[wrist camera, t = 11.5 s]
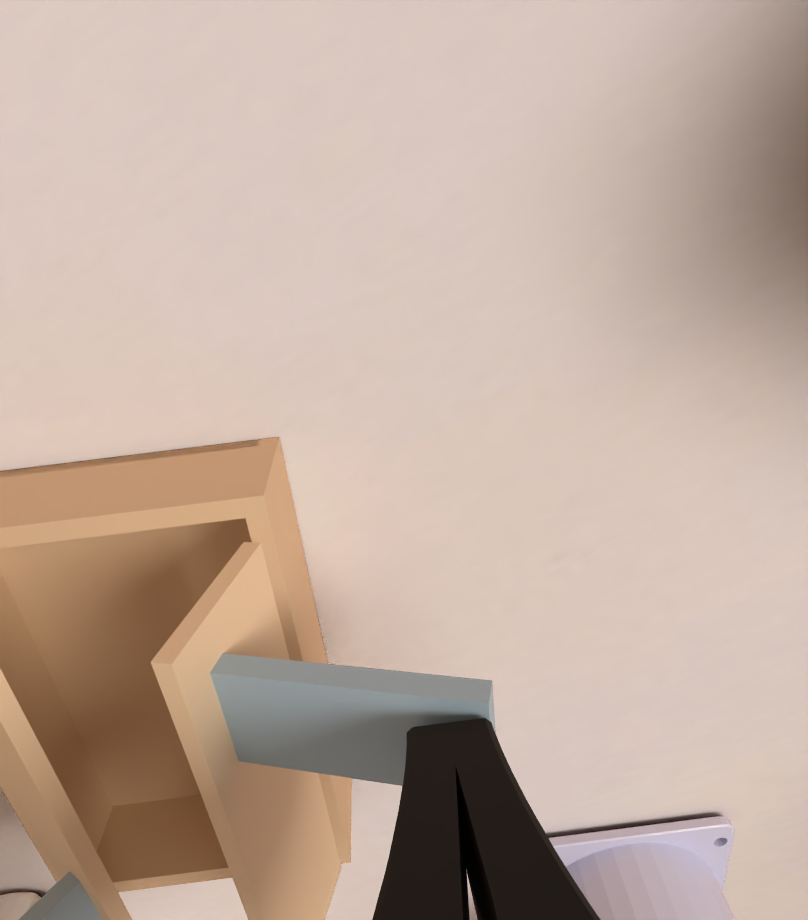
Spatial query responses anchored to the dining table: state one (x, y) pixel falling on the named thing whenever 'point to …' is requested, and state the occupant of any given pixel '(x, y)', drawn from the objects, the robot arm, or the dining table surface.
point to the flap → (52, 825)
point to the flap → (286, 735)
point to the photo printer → (16, 904)
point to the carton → (139, 633)
